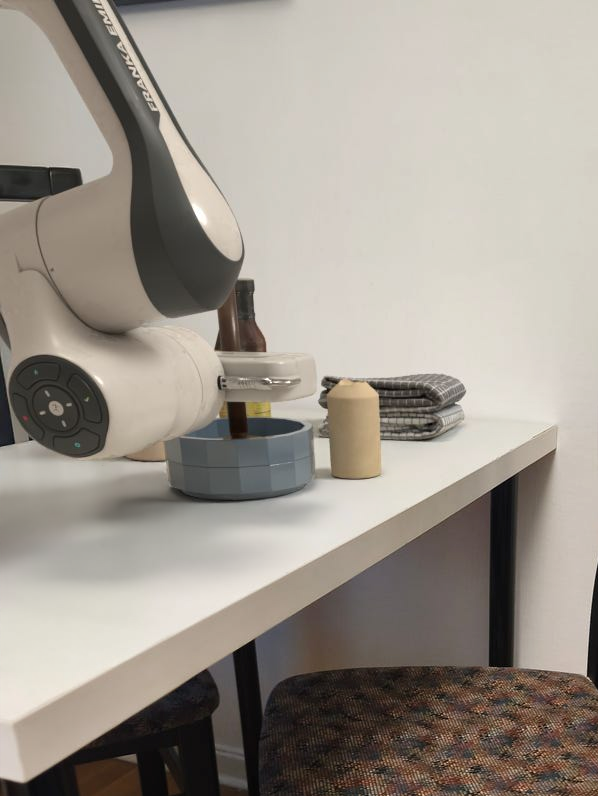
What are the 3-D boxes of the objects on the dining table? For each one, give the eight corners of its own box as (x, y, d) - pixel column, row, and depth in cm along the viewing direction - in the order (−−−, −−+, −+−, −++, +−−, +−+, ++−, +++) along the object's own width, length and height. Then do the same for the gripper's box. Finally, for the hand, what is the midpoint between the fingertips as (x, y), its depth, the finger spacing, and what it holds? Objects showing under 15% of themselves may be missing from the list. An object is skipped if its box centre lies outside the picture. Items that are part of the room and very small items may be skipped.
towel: (445, 442, 117) (445, 380, 114) (312, 437, 120) (308, 376, 116) (467, 424, 130) (467, 368, 127) (347, 420, 133) (344, 365, 130)
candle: (321, 473, 98) (315, 380, 94) (361, 466, 102) (357, 376, 98) (351, 481, 95) (346, 384, 91) (391, 474, 98) (388, 380, 94)
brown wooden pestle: (207, 475, 87) (184, 269, 80) (221, 464, 93) (201, 269, 85) (264, 475, 87) (246, 270, 80) (275, 464, 93) (259, 270, 85)
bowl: (150, 502, 86) (142, 439, 83) (193, 470, 99) (187, 415, 97) (302, 502, 86) (298, 440, 84) (324, 471, 99) (321, 416, 97)
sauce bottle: (213, 448, 111) (195, 277, 104) (258, 443, 115) (244, 277, 107) (238, 456, 107) (221, 278, 99) (284, 450, 111) (271, 278, 103)
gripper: (284, 344, 72) (336, 334, 84) (51, 340, 75) (135, 330, 87) (289, 424, 74) (340, 402, 87) (64, 416, 77) (144, 396, 90)
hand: (236, 366), depth 87 cm, fingers closed on brown wooden pestle
